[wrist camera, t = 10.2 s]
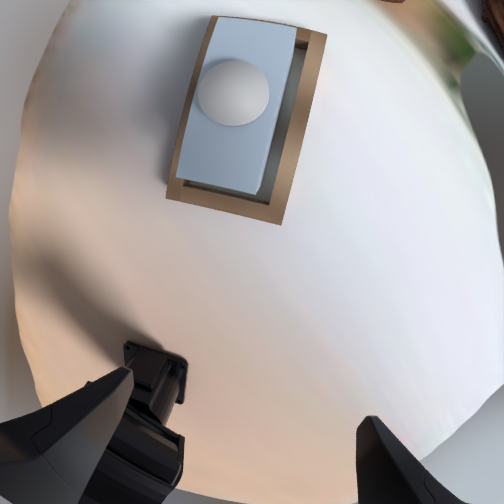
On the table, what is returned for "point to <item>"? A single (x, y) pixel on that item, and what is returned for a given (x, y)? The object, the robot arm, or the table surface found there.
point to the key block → (237, 104)
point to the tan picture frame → (283, 143)
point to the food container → (394, 1)
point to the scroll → (495, 16)
